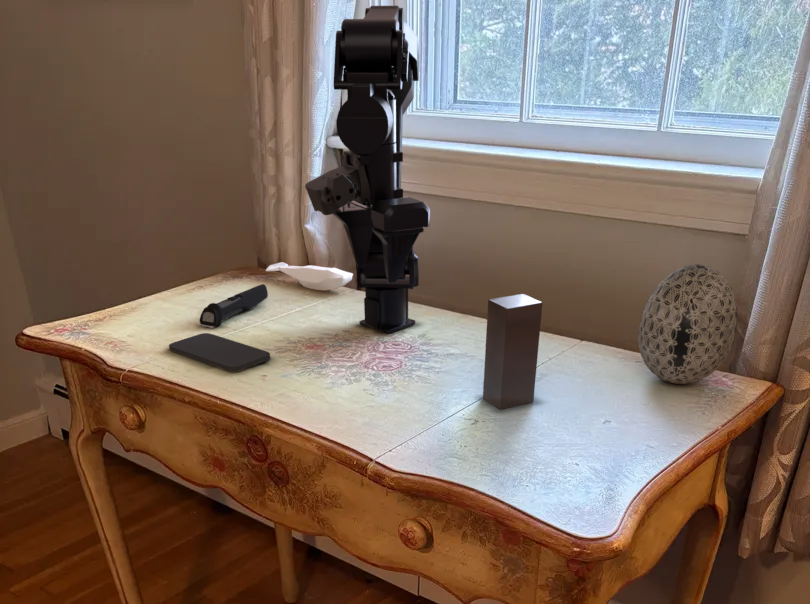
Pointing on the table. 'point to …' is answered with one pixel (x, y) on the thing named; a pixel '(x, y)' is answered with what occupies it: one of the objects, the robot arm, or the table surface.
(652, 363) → the decorative egg
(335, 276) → the white fish figurine
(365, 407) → the table surface
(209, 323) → the electric trimmer
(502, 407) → the walnut block
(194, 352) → the phone
